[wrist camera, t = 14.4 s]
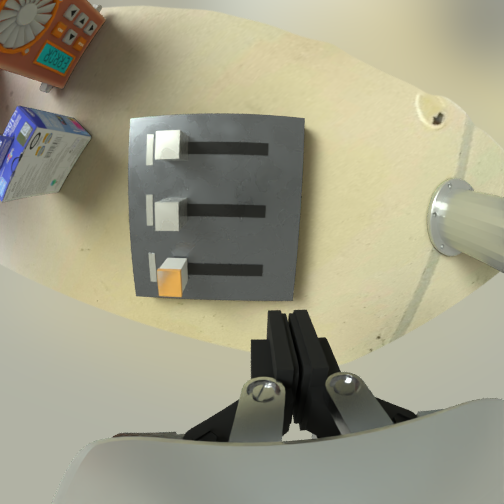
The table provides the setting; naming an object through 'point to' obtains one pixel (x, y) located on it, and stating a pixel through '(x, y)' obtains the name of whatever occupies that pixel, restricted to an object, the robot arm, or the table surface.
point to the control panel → (46, 37)
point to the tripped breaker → (172, 277)
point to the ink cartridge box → (38, 152)
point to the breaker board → (217, 203)
